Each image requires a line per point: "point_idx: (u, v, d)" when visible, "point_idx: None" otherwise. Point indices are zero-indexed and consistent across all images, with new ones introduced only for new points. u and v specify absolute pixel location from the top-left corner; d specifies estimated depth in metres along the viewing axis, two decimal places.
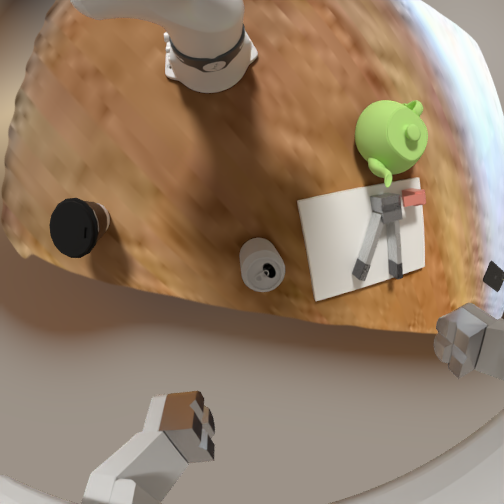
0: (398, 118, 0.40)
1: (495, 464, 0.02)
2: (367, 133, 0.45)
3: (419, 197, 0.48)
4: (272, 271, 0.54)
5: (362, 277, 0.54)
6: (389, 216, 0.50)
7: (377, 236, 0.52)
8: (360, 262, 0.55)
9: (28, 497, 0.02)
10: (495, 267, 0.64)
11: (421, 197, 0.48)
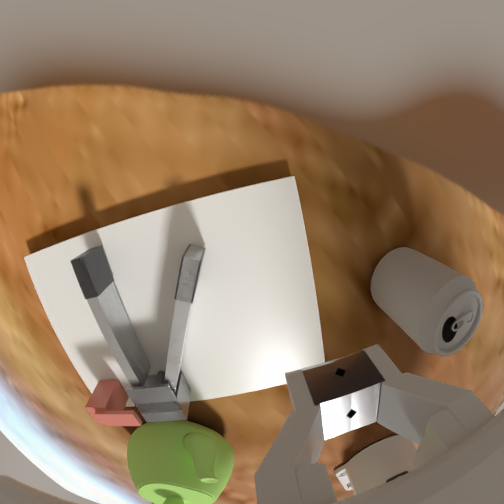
0: None
1: (495, 464, 0.02)
2: (229, 475, 0.27)
3: (106, 421, 0.23)
4: None
5: (191, 267, 0.20)
6: (158, 396, 0.23)
7: (172, 359, 0.23)
8: None
9: (28, 497, 0.02)
10: None
11: (102, 421, 0.23)
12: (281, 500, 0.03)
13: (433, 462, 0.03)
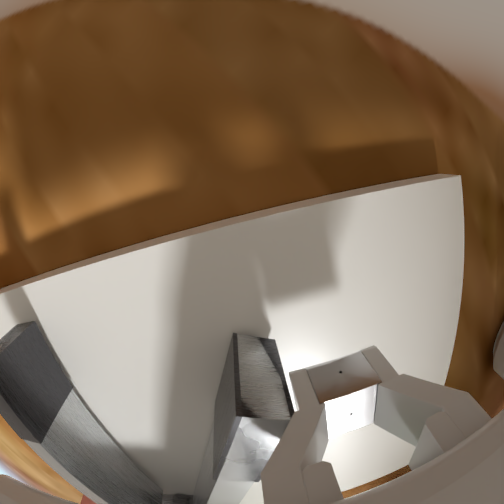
0: None
1: (495, 464, 0.02)
2: None
3: None
4: None
5: (265, 434, 0.06)
6: None
7: None
8: None
9: (28, 497, 0.02)
10: None
11: None
12: (288, 499, 0.03)
13: (433, 462, 0.03)
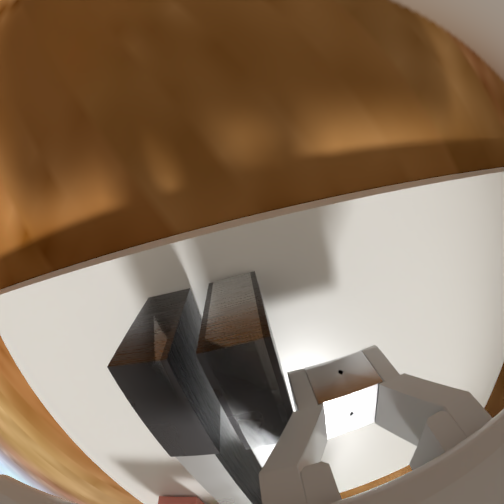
0: None
1: (495, 464, 0.02)
2: None
3: None
4: None
5: (248, 368, 0.05)
6: None
7: None
8: None
9: (28, 497, 0.02)
10: None
11: None
12: (286, 499, 0.03)
13: (433, 462, 0.03)
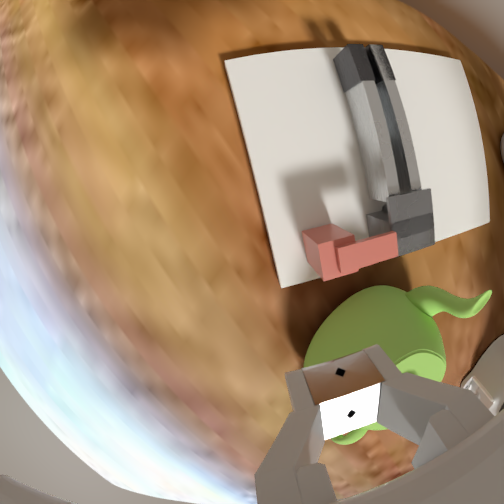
0: None
1: (495, 464, 0.02)
2: None
3: (351, 261, 0.20)
4: None
5: (379, 50, 0.17)
6: (419, 204, 0.20)
7: (407, 147, 0.19)
8: None
9: (28, 497, 0.02)
10: None
11: (344, 262, 0.20)
12: (281, 500, 0.03)
13: (433, 462, 0.03)
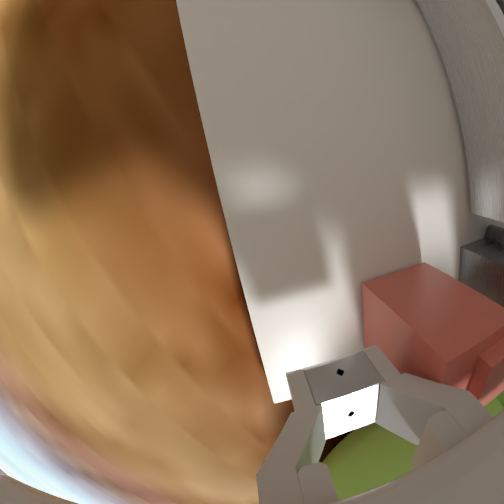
0: None
1: (495, 464, 0.02)
2: None
3: (498, 385, 0.05)
4: None
5: None
6: None
7: None
8: None
9: (28, 497, 0.02)
10: None
11: (487, 393, 0.05)
12: (283, 500, 0.03)
13: (433, 462, 0.03)
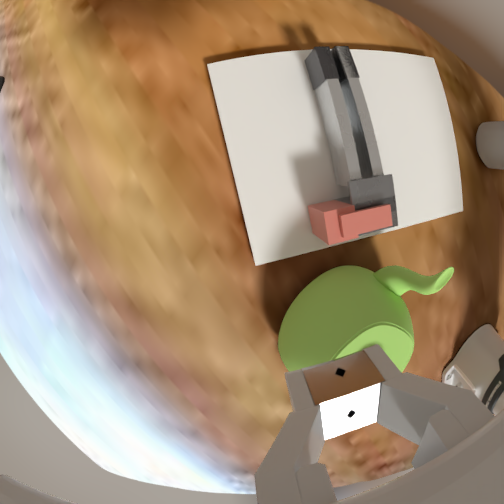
0: None
1: (495, 464, 0.02)
2: None
3: (352, 227, 0.23)
4: None
5: (344, 51, 0.20)
6: (381, 188, 0.23)
7: (369, 137, 0.23)
8: None
9: (28, 497, 0.02)
10: None
11: (346, 228, 0.23)
12: (281, 500, 0.03)
13: (433, 462, 0.03)
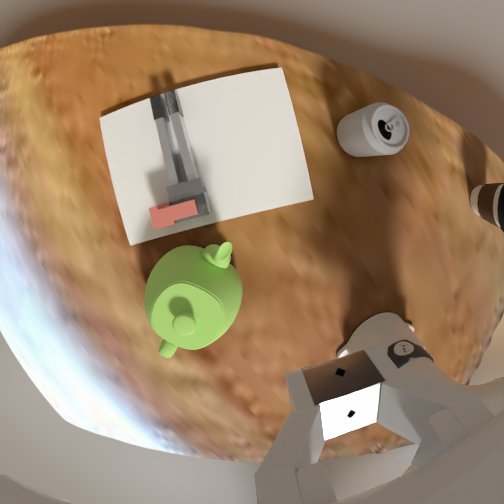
0: (205, 334, 0.36)
1: (495, 464, 0.02)
2: (238, 299, 0.40)
3: (166, 217, 0.35)
4: (347, 115, 0.37)
5: (170, 94, 0.32)
6: (191, 188, 0.36)
7: (184, 153, 0.35)
8: (181, 112, 0.35)
9: (28, 497, 0.02)
10: None
11: (162, 217, 0.35)
12: (281, 500, 0.03)
13: (433, 462, 0.03)
